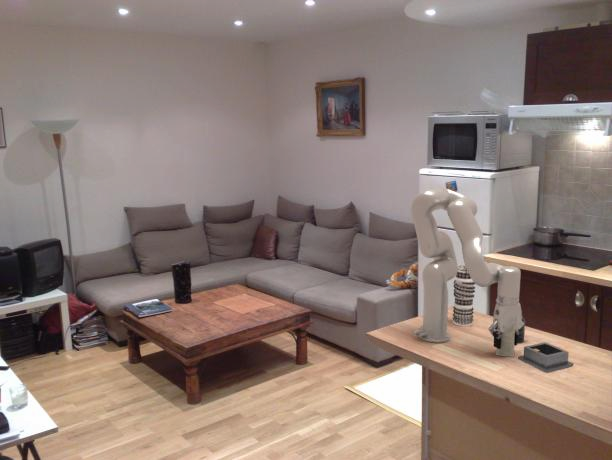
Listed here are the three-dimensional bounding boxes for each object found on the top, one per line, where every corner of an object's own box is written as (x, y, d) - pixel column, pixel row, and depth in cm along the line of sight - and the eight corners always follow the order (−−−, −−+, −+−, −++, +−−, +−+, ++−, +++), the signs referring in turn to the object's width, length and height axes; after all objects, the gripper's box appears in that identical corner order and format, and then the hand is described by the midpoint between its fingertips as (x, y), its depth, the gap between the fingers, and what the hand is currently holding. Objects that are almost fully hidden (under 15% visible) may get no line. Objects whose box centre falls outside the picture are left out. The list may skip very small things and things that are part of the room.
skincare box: (513, 353, 210) (515, 322, 207) (513, 357, 205) (515, 325, 203) (495, 350, 212) (497, 320, 209) (495, 355, 207) (497, 324, 205)
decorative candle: (477, 322, 243) (479, 266, 239) (468, 327, 236) (471, 270, 232) (457, 317, 249) (459, 263, 245) (448, 323, 242) (450, 267, 238)
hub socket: (546, 372, 192) (547, 357, 191) (517, 359, 204) (518, 344, 203) (573, 366, 198) (574, 351, 197) (543, 353, 209) (544, 338, 208)
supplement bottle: (521, 337, 225) (523, 308, 223) (526, 343, 219) (528, 314, 217) (503, 336, 226) (505, 308, 224) (508, 343, 219) (509, 313, 217)
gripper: (497, 306, 198) (494, 353, 201) (533, 299, 205) (530, 345, 208) (482, 300, 205) (479, 346, 208) (518, 294, 212) (515, 339, 215)
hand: (505, 345), depth 208 cm, fingers closed on skincare box, 7 cm apart
